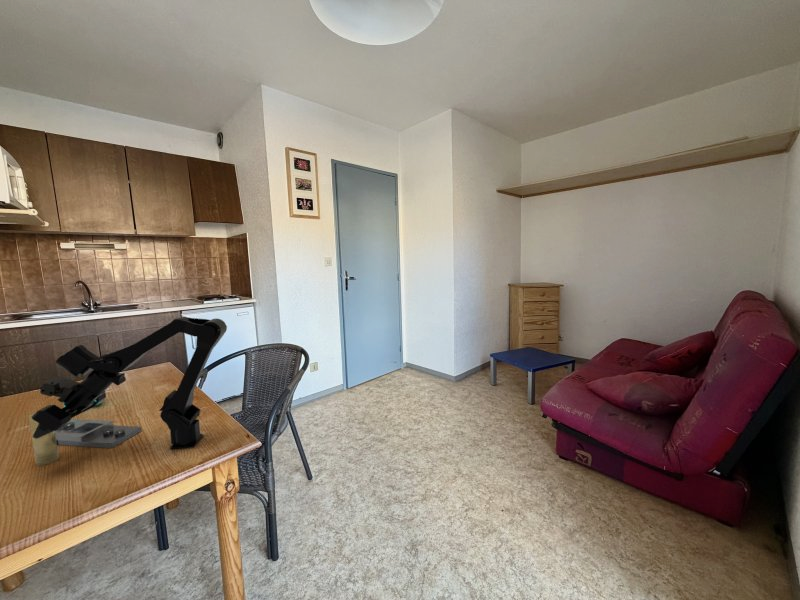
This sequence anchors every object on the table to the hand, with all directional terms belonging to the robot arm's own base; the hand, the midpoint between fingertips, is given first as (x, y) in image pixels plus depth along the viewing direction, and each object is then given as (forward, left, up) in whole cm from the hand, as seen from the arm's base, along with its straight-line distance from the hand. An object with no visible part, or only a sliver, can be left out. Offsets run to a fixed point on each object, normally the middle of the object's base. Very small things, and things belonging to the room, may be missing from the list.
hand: (49, 428), depth 87 cm
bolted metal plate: (-2, -11, -9) cm, 15 cm away
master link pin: (+1, 0, -9) cm, 9 cm away
